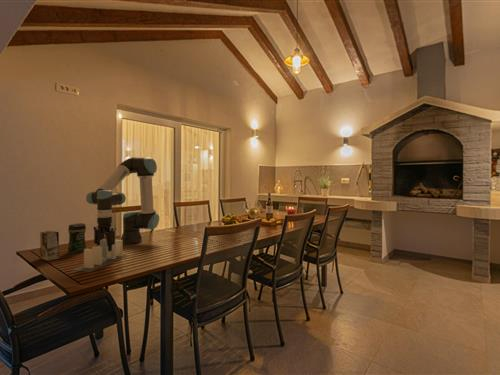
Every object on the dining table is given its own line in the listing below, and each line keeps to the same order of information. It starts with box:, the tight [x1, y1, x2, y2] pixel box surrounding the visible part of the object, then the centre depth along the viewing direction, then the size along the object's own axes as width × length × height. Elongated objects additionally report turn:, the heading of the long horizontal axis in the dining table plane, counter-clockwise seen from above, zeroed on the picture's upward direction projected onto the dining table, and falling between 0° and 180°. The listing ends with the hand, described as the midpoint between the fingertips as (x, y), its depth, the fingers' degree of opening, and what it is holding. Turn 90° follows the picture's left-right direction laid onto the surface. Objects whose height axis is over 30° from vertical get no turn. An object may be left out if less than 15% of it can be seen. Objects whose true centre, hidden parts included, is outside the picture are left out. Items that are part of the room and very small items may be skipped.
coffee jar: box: [67, 223, 87, 254], centre depth 173 cm, size 10×8×19 cm
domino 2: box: [91, 245, 103, 265], centre depth 148 cm, size 2×5×10 cm, turn 76°
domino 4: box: [107, 242, 116, 259], centre depth 159 cm, size 2×5×10 cm, turn 76°
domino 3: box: [100, 238, 107, 258], centre depth 153 cm, size 2×5×10 cm, turn 76°
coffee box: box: [39, 230, 60, 262], centre depth 158 cm, size 9×6×16 cm
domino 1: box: [83, 248, 94, 268], centre depth 143 cm, size 2×5×10 cm, turn 76°
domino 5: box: [115, 239, 124, 257], centre depth 164 cm, size 2×5×10 cm, turn 76°
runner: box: [71, 254, 130, 273], centre depth 152 cm, size 30×12×1 cm, turn 166°
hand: (104, 256), depth 154 cm, fingers closed on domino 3, 5 cm apart
